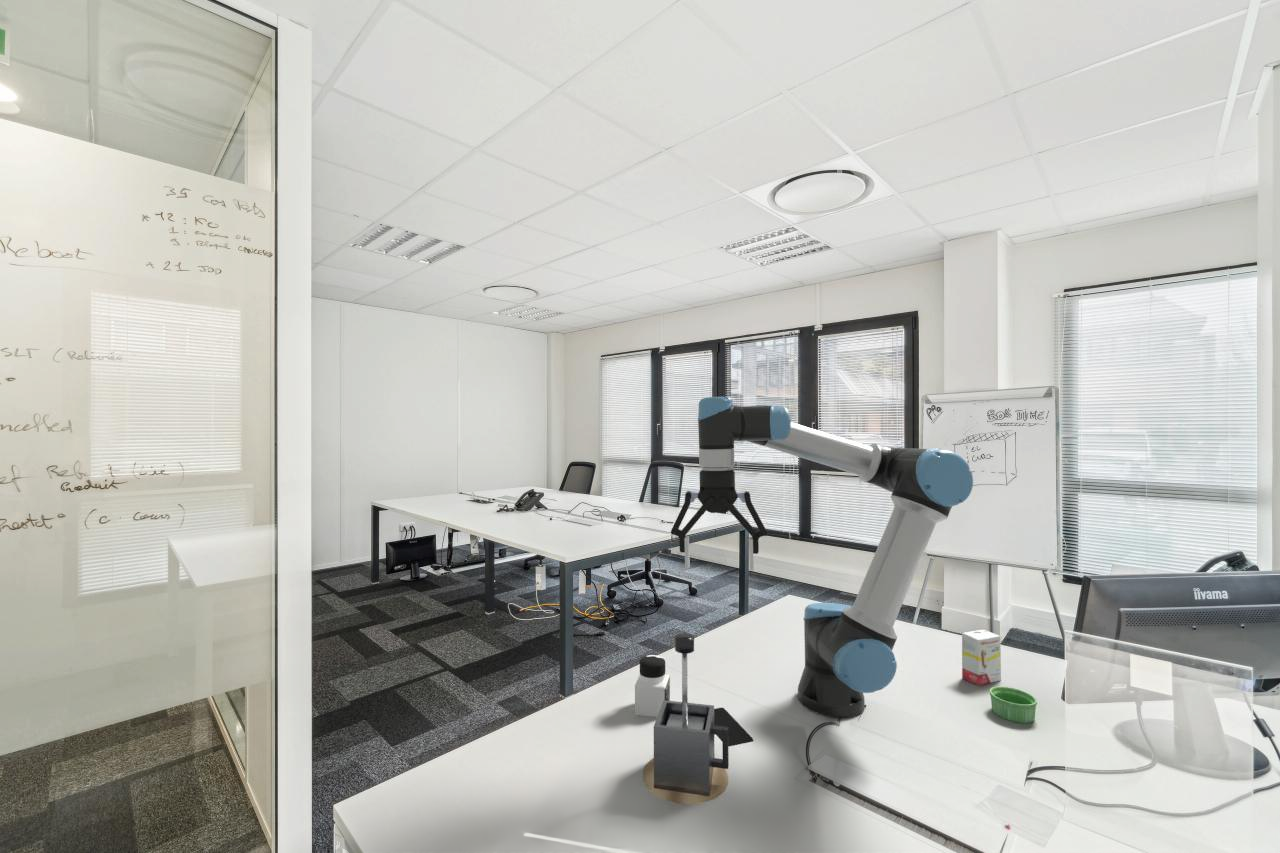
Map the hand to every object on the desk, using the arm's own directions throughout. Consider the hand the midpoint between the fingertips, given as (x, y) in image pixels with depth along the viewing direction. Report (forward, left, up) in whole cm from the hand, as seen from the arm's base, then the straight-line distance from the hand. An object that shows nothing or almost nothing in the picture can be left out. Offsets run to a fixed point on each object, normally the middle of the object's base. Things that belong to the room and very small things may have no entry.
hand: (719, 568), depth 115 cm
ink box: (-65, -42, -36) cm, 85 cm away
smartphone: (-1, -4, -36) cm, 36 cm away
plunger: (+5, +15, -27) cm, 31 cm away
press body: (+4, +15, -35) cm, 39 cm away
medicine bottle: (+16, -8, -36) cm, 40 cm away
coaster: (+5, +15, -36) cm, 39 cm away
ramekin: (-65, -24, -36) cm, 78 cm away
